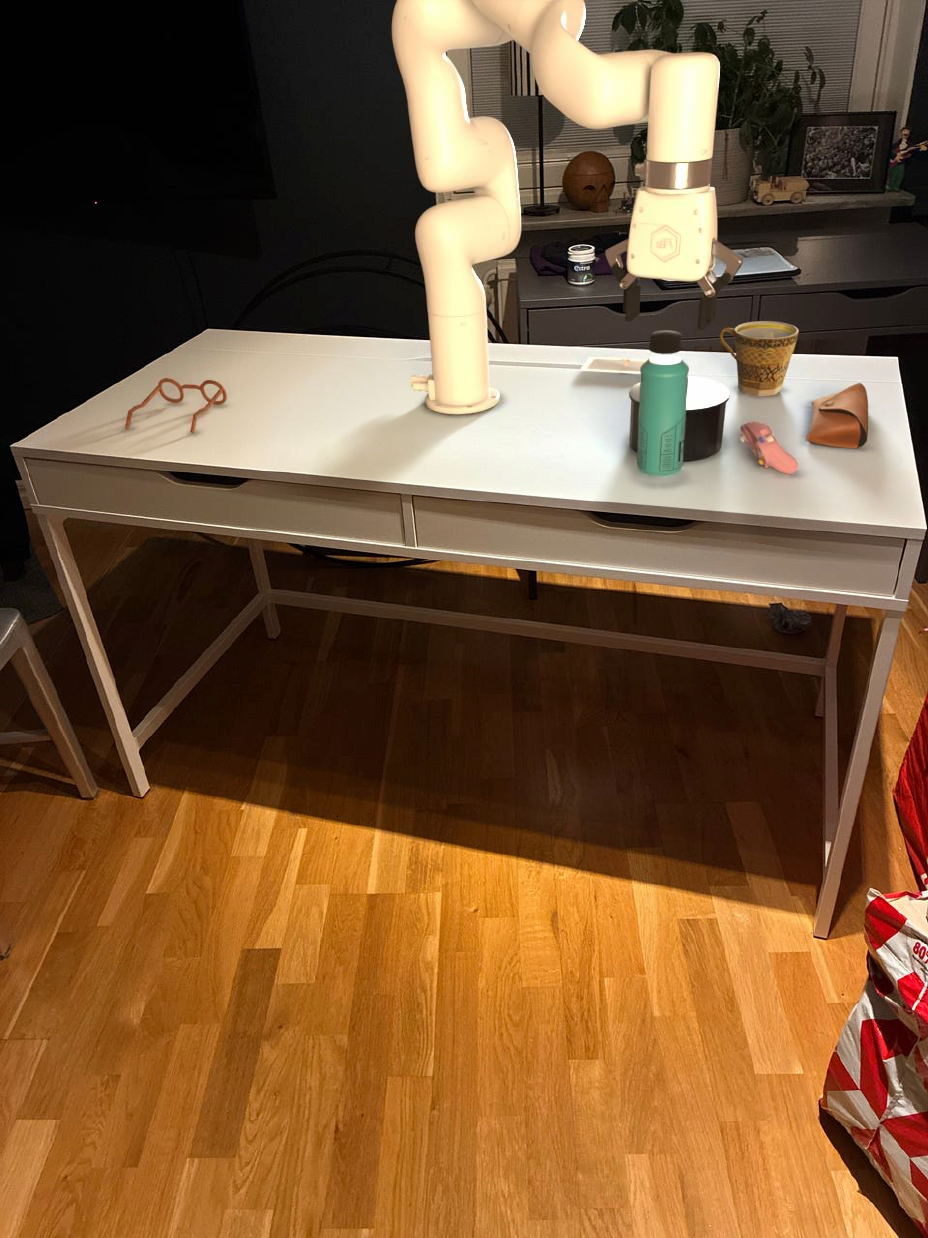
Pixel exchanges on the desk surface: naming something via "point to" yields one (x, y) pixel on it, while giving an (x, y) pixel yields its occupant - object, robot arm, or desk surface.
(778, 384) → the ceramic cup
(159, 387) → the glasses
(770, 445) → the pink cartoon race car
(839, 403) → the sunglasses case
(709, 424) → the black short cylinder
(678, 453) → the beverage bottle
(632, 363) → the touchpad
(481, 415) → the desk surface
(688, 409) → the lid
